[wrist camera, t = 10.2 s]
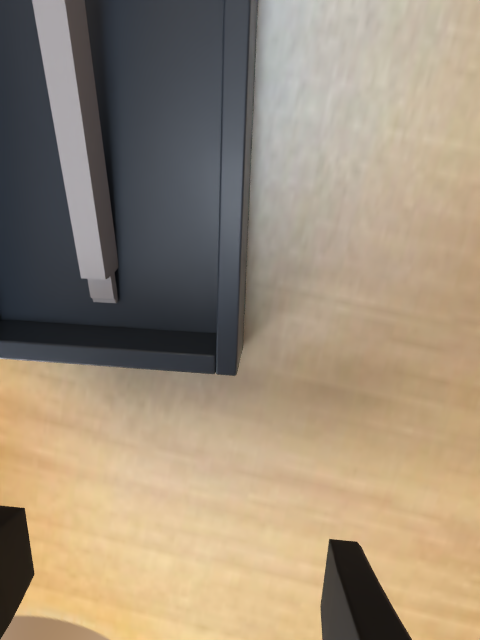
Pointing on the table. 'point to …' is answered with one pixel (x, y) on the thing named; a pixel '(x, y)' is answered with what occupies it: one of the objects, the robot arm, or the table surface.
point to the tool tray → (133, 188)
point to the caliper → (79, 139)
